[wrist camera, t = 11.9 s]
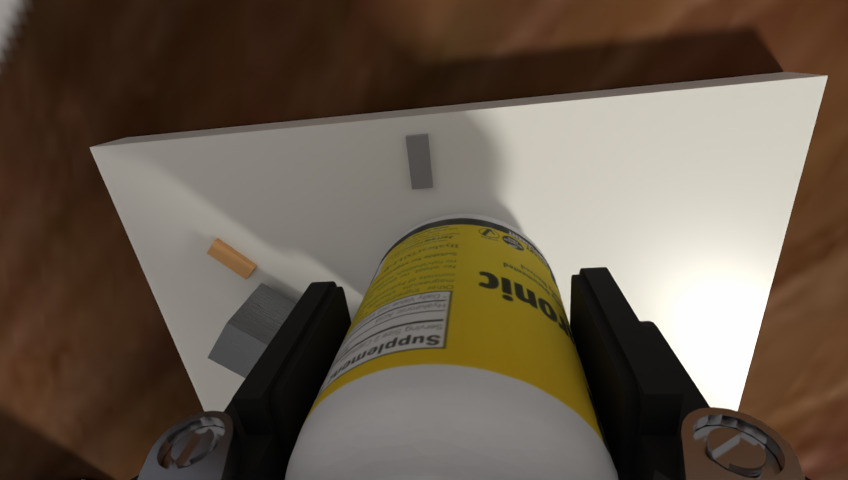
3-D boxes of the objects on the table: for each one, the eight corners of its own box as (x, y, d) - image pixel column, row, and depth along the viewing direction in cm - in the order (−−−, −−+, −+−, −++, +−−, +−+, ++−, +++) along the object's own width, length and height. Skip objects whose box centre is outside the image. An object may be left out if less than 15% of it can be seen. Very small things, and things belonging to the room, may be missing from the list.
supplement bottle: (584, 324, 13) (803, 934, 4) (432, 378, 15) (354, 890, 6) (506, 172, 11) (588, 649, 2) (344, 254, 13) (47, 706, 4)
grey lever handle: (533, 404, 15) (546, 478, 12) (461, 468, 17) (459, 544, 14) (279, 252, 13) (233, 300, 11) (228, 340, 15) (179, 400, 13)
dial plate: (785, 71, 11) (834, 76, 10) (689, 487, 18) (709, 528, 17) (125, 137, 14) (84, 148, 13) (261, 478, 21) (244, 512, 20)
